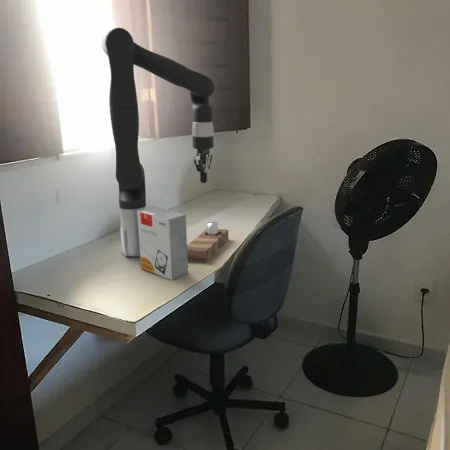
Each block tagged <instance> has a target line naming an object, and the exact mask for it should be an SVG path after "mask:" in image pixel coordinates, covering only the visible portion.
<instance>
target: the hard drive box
mask: <svg viewBox="0 0 450 450" xmlns="http://www.w3.org/2000/svg"><path fill="white" fill-rule="evenodd" d="M137 219H138V233H139V247H140V256H139V258H140V269H143V270H145V271H146V272H149V273H152V274H155V275H158V276H159V277H162V278H165V279H168V280H170V281H174V280H175V279H178V278H180V277H182V276H185V275H188V274H189V263H188V262H189V261H188V257H187V245H188V240H187V239H188V237H187V236H188V235H187V217H186V214H184V213H181V212H176V211H174V210H169V209H165V208H163V207H158V206H150V207H146V209H142V210H139V211H137Z"/></svg>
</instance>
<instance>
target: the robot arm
mask: <svg viewBox="0 0 450 450" xmlns="http://www.w3.org/2000/svg"><path fill="white" fill-rule="evenodd" d="M134 41H135V40H134V37H132V34H131V33H130V32H129V31H128V30H127V29H125V28H123V27H114V28H112V29H109V30H108V31H106V32H105V33H104V34H103V36H102V38H101V49H102V51H103V52H104V54H105V55H106V56H107V57H108V63H109V68H110V84H109V85H110V86H109V96H108V97H109V100H108V101H109V102H108V103H109V117H110V123H111V129H112V130H111V131H112V136H113V142H114V146H115V179H116V182H117V184H118V205H119V206H118V207H119V216H120V217H119V218H120V226H119V227H120V228H119V230H120V231H119V232H120V241H121V252H122V253H123V255H124V257H125V258H126V257H140V247H139V233H138V219H137V211H139V210H142V209H146V208H147V197H146V196H147V195H146V194H147V192H146V175H145V169H144V167H143V165H142V164H141V161H140V155H139V154H140V153H139V134H140V132H139V131H140V115H139V103H138V95H137V94H138V93H137V88H136V81H135V74H134V72H135V71H134V69H135V68H134V67H135V66H136V67H139V68H140V69H142V70H145V71H147V72H149V73H150V74H153V75H154V76H157V77H159V78H160V79H162V80H164V81H166V82H168V83H170V84H172V85H174V86H177V87H179V88H184V89H185V90H187V91H189V97H190V98H189V99H190V102H191V107H192V126H191V127H192V128H191V130H192V148H193V149H195V150H196V158H195V159H194V160H193V163H194V166H195V169H196V171H197V172H198V173H200V174H199V175H200V178H199V180H200V181H199V182H200V183H201V184H206V183H208V173H209V170H210V169H211V165H212V161H213V154H211V150H212V149H214V148H215V147H214V141H215V139H214V136H215V135H214V132H215V131H214V125H213V124H214V123H213V121H214V120H213V119H214V118H213V117H214V115H213V107H212V106H211V105H210V100H209V99H210V98H209V97H211V96H212V95H213V94H214V93H215V89H216V85H215V82H214V80H213V79H212V78H211V77H209V76H207V75H205V74H202V73H200V72H198V71H195V70H193V69H190V68H189V67H187V66H185V65H183V64H181V63H179V62H177V61H175V60H174V59H171V58H170V57H166V56H164V55H162V54H159V53H156V52H154V51H151V50H149V49H146V48H144V47H142V46H141V45H139V44H137V43H136V42H134ZM210 149H211V150H210Z"/></svg>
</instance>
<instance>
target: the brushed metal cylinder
mask: <svg viewBox="0 0 450 450" xmlns="http://www.w3.org/2000/svg"><path fill="white" fill-rule="evenodd" d="M206 225H207V227H206V229H207V231H208V235H211V236H218V229H219V222H218V221H208V222H207V223H206Z"/></svg>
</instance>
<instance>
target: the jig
mask: <svg viewBox="0 0 450 450" xmlns="http://www.w3.org/2000/svg"><path fill="white" fill-rule="evenodd" d="M228 241H229V229H222V228H218V236H211V235H208V231H207V228H206V229H205V230H204V231H202V232H201V233H200V234H199V235H197V237H195V238H194V239H193V240H191V241H190V242H189V243H187V257H188V262H194V263H195V262H196V263H207V262H208V261H209V260H210V259H211V258H212V257H213V256H214V255H215V254H216V253H217V252H218V251H219V250H220V249H221V248H222V247H223V246H224V245H225V244H226V243H227V242H228Z"/></svg>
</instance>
